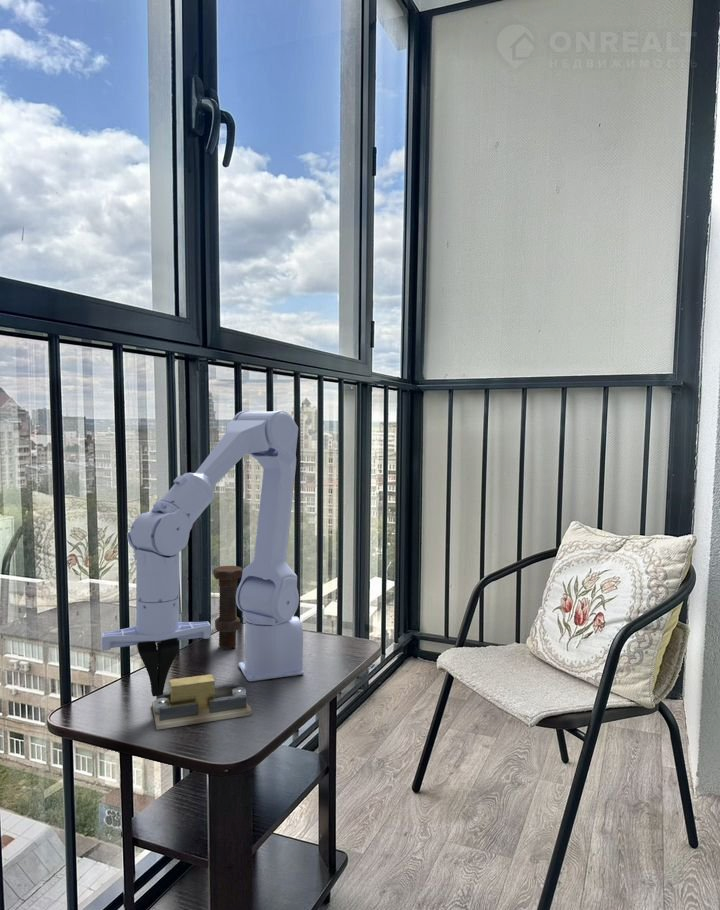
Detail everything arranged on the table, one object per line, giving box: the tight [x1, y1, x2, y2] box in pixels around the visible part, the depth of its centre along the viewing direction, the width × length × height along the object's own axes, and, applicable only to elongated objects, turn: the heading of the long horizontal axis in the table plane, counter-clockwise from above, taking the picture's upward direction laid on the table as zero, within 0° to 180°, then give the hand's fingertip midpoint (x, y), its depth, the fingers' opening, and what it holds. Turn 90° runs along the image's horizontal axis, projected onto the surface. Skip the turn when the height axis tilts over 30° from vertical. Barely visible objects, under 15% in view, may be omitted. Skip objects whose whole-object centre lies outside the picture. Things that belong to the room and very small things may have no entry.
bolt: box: [213, 565, 244, 651], centre depth 117 cm, size 6×5×15 cm
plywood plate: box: [151, 696, 253, 730], centre depth 90 cm, size 13×8×1 cm, turn 112°
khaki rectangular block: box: [169, 673, 216, 711], centre depth 89 cm, size 6×3×4 cm, turn 113°
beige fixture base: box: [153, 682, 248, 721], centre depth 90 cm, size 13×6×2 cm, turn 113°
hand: (157, 693), depth 88 cm, fingers closed
